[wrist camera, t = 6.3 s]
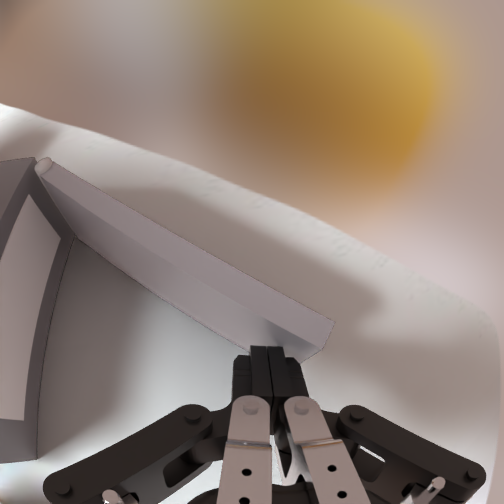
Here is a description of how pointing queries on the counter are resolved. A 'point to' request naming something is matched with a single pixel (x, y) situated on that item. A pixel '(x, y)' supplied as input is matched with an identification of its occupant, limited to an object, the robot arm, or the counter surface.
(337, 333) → the counter surface
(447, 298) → the counter surface
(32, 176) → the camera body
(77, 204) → the side door
